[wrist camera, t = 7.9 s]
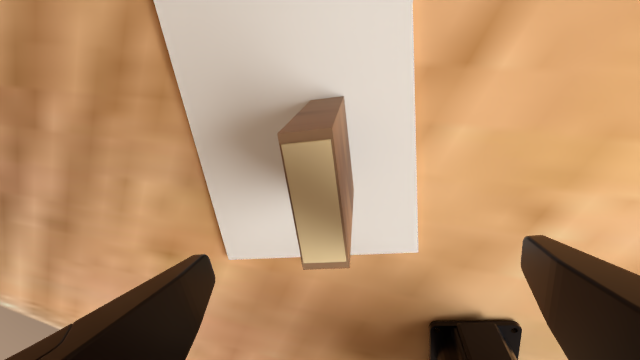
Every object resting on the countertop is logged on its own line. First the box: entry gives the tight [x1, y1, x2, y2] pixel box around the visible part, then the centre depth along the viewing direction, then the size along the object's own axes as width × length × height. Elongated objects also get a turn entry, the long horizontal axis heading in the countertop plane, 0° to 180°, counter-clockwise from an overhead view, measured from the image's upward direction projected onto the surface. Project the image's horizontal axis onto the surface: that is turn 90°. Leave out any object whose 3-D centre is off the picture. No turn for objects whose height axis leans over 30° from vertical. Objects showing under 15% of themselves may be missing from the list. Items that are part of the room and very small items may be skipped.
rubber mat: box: [153, 0, 418, 260], centre depth 20 cm, size 18×14×1 cm
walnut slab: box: [277, 96, 354, 270], centre depth 16 cm, size 6×2×8 cm, turn 8°
